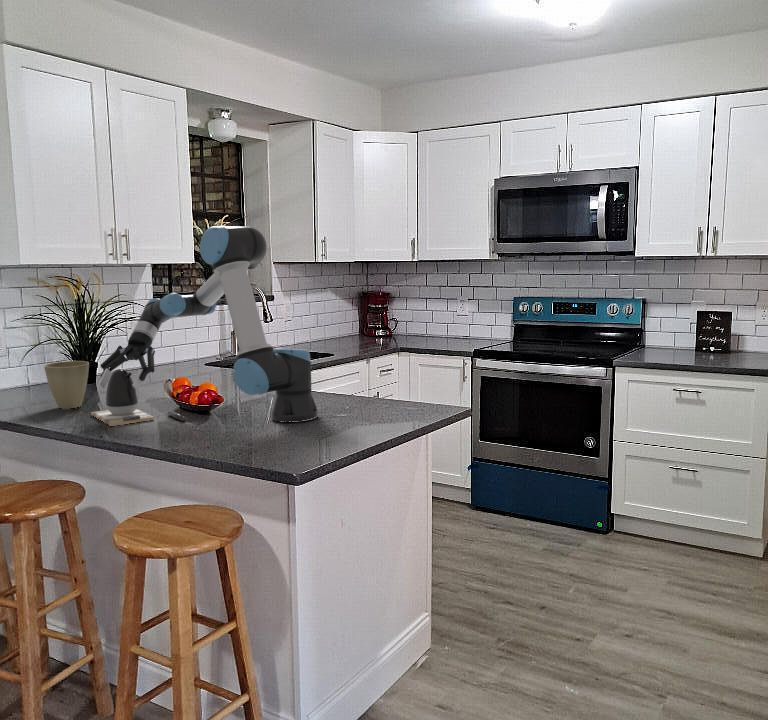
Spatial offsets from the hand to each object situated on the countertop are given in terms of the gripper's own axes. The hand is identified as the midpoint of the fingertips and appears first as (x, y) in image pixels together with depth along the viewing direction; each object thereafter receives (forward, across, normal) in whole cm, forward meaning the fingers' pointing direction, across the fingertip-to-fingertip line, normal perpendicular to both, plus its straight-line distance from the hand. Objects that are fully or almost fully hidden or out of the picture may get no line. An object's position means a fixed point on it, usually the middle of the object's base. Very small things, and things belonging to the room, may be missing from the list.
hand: (117, 387), depth 246 cm
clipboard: (+7, 0, -8) cm, 11 cm away
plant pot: (0, +30, -16) cm, 34 cm away
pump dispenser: (+6, -1, -7) cm, 10 cm away
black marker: (+4, -19, -11) cm, 22 cm away
